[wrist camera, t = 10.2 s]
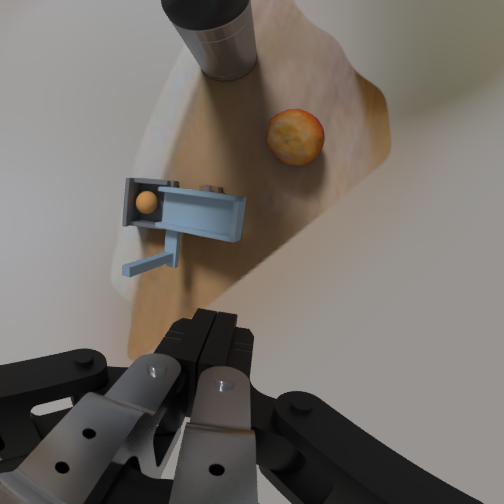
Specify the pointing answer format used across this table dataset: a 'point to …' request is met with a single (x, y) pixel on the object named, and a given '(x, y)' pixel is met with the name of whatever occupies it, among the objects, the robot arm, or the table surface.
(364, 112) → the table surface
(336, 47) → the table surface
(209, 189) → the fulcrum
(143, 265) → the lever
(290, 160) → the fruit
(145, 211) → the ball
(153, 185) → the tray
